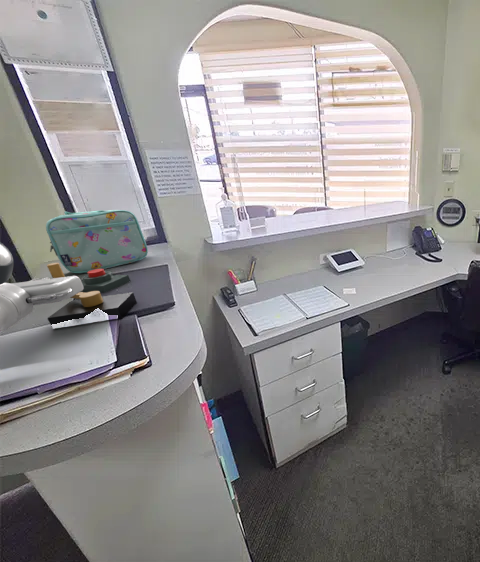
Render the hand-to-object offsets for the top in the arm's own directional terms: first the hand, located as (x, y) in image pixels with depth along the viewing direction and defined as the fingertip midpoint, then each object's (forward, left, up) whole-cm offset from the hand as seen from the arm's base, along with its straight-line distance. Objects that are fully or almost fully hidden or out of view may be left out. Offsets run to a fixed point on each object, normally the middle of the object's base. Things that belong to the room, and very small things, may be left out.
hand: (43, 281), depth 74 cm
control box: (-11, +21, -11) cm, 26 cm away
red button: (-11, +21, -7) cm, 25 cm away
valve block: (+7, +3, -11) cm, 13 cm away
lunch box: (-28, +40, -11) cm, 50 cm away
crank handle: (+3, +4, -7) cm, 9 cm away
